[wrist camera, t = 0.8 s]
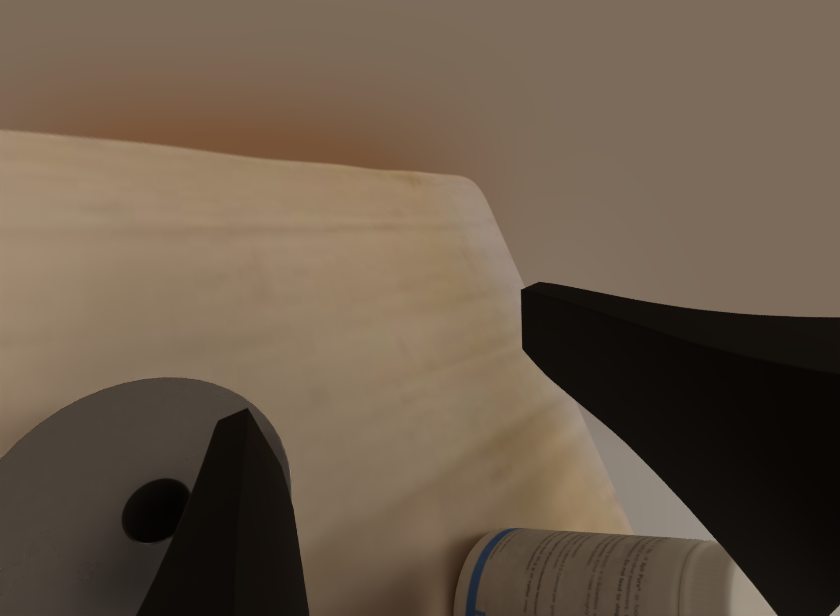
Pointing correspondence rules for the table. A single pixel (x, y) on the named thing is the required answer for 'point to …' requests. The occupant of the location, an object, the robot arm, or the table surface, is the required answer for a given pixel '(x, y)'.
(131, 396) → the steel pot
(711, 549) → the supplement tub
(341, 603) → the table surface
